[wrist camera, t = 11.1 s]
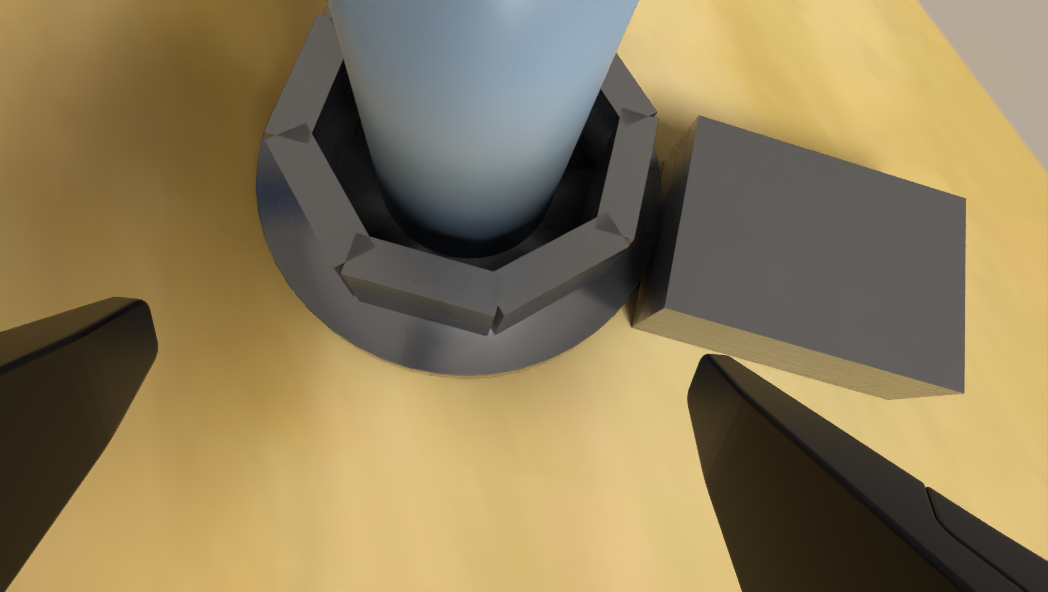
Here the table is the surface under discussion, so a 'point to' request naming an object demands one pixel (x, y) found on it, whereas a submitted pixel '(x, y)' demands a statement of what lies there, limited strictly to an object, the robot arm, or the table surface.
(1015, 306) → the table surface
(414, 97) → the duct elbow
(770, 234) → the duct collar
